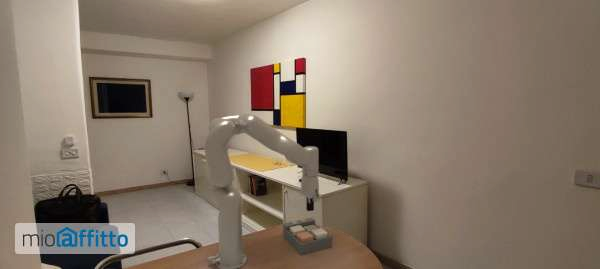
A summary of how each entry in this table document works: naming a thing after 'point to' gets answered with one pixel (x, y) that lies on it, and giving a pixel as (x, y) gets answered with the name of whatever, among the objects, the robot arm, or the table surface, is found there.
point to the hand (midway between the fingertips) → (310, 210)
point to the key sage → (310, 228)
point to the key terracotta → (304, 237)
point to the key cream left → (297, 230)
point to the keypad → (307, 246)
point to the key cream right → (319, 233)
